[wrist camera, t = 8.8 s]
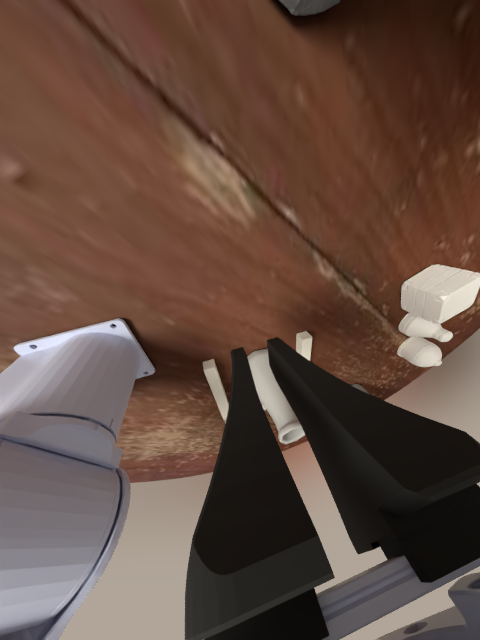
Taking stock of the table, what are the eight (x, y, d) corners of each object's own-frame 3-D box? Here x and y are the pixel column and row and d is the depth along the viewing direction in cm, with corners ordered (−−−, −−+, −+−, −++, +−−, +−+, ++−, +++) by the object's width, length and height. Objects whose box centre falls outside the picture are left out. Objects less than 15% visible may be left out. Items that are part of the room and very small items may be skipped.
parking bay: (223, 415, 30) (225, 423, 29) (202, 362, 23) (203, 370, 22) (302, 388, 32) (306, 395, 31) (306, 330, 25) (312, 337, 24)
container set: (397, 282, 25) (444, 298, 21) (431, 262, 25) (486, 273, 20) (395, 359, 36) (425, 379, 32) (418, 345, 36) (452, 365, 31)
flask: (286, 369, 28) (327, 433, 20) (246, 388, 28) (271, 460, 20) (276, 338, 24) (322, 403, 16) (229, 361, 24) (251, 438, 16)
